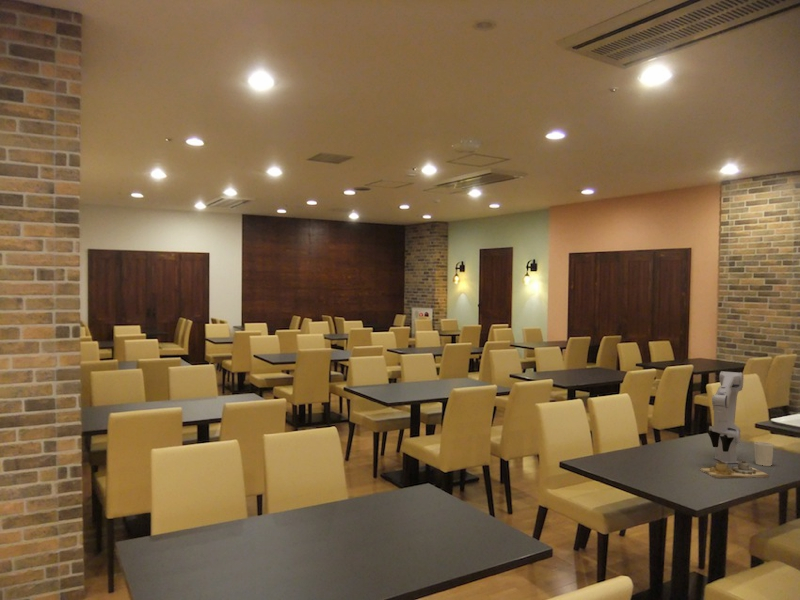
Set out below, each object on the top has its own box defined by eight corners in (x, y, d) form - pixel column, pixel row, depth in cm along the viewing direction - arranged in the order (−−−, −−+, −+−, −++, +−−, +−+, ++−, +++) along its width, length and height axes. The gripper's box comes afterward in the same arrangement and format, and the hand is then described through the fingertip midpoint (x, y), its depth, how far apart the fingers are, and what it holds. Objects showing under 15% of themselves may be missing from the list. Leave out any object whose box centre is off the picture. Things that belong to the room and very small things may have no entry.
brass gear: (725, 468, 270) (725, 459, 270) (738, 474, 260) (738, 466, 260) (705, 468, 269) (705, 460, 269) (718, 475, 259) (718, 466, 259)
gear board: (700, 470, 270) (700, 457, 270) (751, 469, 272) (751, 456, 272) (716, 478, 258) (716, 465, 258) (769, 477, 260) (769, 463, 260)
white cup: (770, 462, 282) (770, 442, 282) (775, 467, 275) (775, 446, 275) (752, 461, 285) (752, 441, 285) (756, 465, 278) (756, 444, 277)
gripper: (703, 417, 279) (702, 445, 279) (722, 423, 264) (722, 453, 264) (717, 416, 279) (716, 445, 279) (737, 423, 265) (736, 453, 265)
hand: (720, 449), depth 272 cm, fingers open, 7 cm apart
